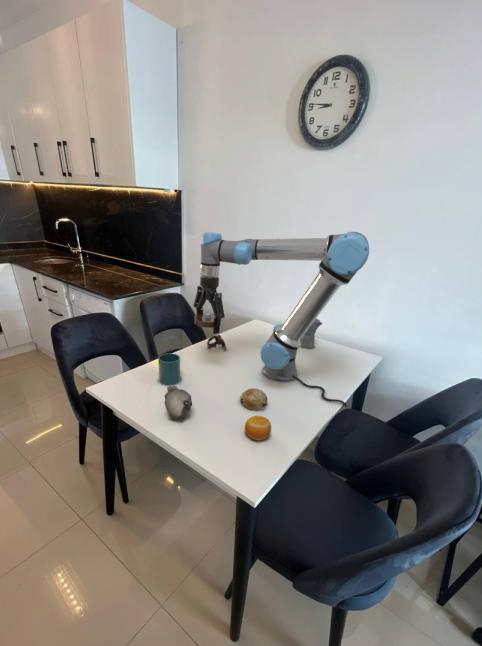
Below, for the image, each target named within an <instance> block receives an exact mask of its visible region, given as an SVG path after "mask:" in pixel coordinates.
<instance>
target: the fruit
mask: <svg viewBox="0 0 482 646" xmlns="http://www.w3.org/2000/svg"><path fill="white" fill-rule="evenodd" d="M244 431H245V434H246V435H247V436H248V437H249V438H250V439H251V440H255V441H261V440H265V439H266V438H268V437H269V436H270V434H271V432H272V423H271V421H270V420H269V419H268V418H266V417H265V416H263V415H262V416H261V415H252V416H250V417H249V418H247V420H246V422H245V424H244Z"/></svg>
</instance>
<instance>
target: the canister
mask: <svg viewBox="0 0 482 646" xmlns="http://www.w3.org/2000/svg"><path fill="white" fill-rule="evenodd" d="M157 363H158V380H159V382H160V383H161V384H162V385H165V386H176V385H177V384H179V383H180V382H181V357H180V356H179V355H178V354H176V353H172V352H171V353H169V352H168V353H167V352H166V353H162V354H160V355H159V356H158V358H157Z"/></svg>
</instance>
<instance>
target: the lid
mask: <svg viewBox="0 0 482 646" xmlns="http://www.w3.org/2000/svg"><path fill="white" fill-rule="evenodd" d="M217 316H218V315H217ZM214 318H215V315H214V313H211V312H210V313H208V312H207V313H206V312H205V313H204V312H203V314H198V315H197V314H196V315H194V317H193V321H194V322H193V323H194V325H195V326H197V327H201V328H208V329H209V328H212V329H213V325H214ZM222 321H223V318H221V323H220V326H221V325H222Z"/></svg>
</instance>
